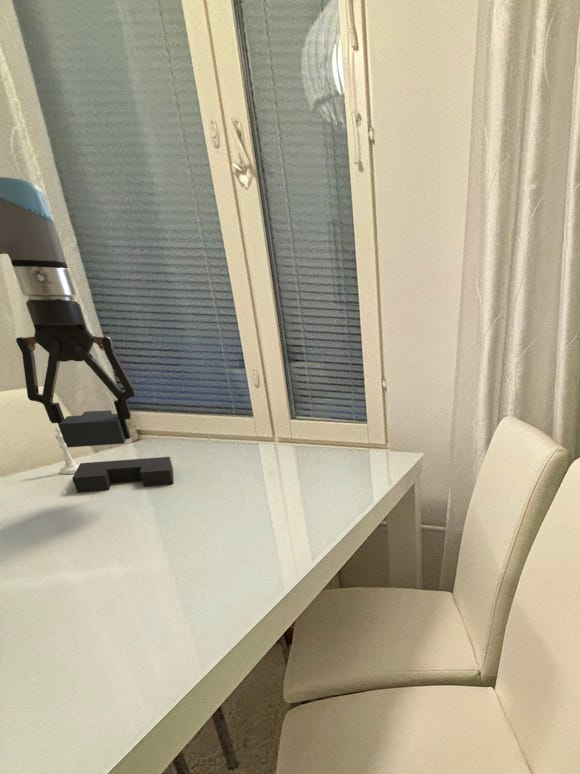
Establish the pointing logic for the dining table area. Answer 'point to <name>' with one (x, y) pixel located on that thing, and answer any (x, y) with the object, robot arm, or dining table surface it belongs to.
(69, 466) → the chess piece
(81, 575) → the dining table surface
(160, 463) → the notch mat
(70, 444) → the pad
